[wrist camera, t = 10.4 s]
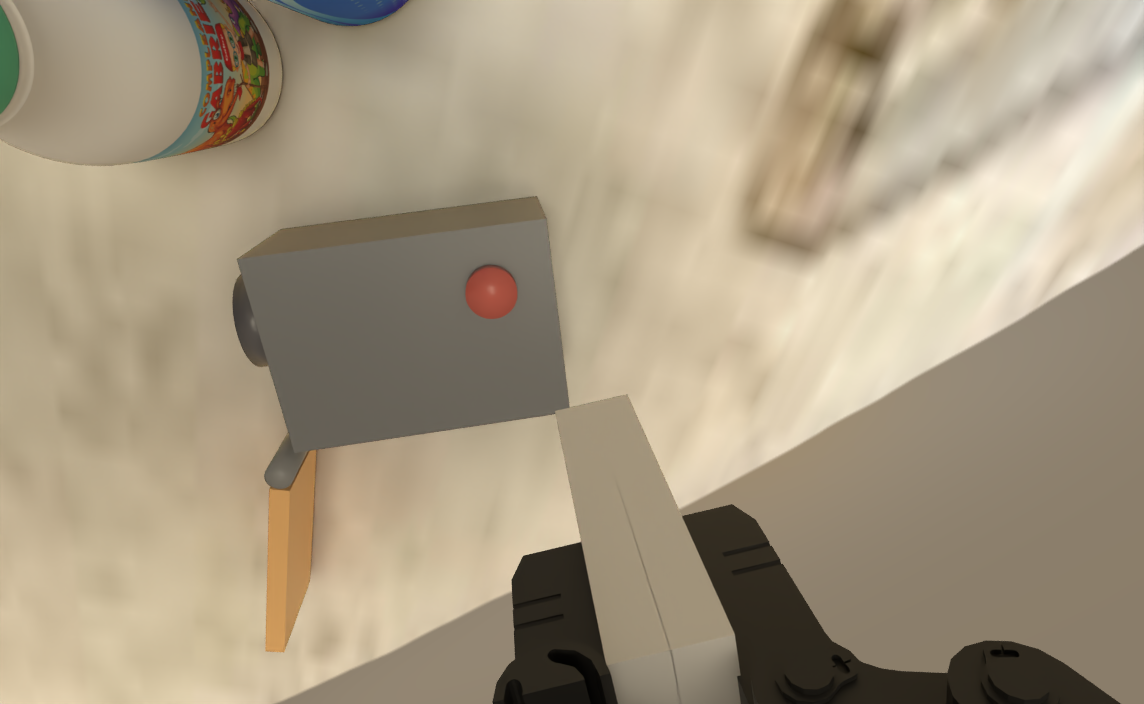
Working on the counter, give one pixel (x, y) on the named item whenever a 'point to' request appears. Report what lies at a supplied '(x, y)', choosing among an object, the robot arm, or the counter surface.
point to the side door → (288, 539)
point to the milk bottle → (133, 77)
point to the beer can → (344, 10)
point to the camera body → (405, 322)
